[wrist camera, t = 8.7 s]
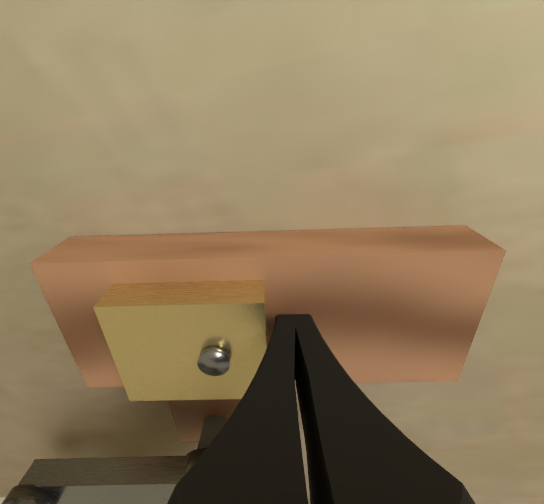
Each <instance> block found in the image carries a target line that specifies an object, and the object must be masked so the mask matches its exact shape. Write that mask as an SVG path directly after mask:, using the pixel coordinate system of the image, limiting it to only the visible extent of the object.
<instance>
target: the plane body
mask: <svg viewBox="0 0 544 504" xmlns="http://www.w3.org/2000/svg"><path fill="white" fill-rule="evenodd" d="M505 252H506V250H504V249H503V248H501V247H499V246H498V245H496V244H495V243H493V242H491V241H490V240H488V239H487V238H485V237H483V236H482V235H480V234H479V233H477V232H475V231H474V230H472V229H471V228H469V227H467V226H437V227H402V228H367V229H332V230H297V231H262V232H228V233H193V234H158V235H123V236H88V237H69V238H68V239H66V240H65V241H63V242H62V243H60V244H59V245H57V246H56V247H54V248H52V249H51V250H49V251H48V252H46V253H45V254H43V255H42V256H40V257H39V258H37V259H35V260H34V261H32V262H31V263H29V264H30V266H31V268H32V271H33V273H34V275H35V277H36V279H37V281H38V283H39V285H40V287H41V290H42V292H43V294H44V296H45V298H46V300H47V302H48V304H49V307H50V309H51V311H52V313H53V315H54V317H55V319H56V321H57V323H58V326H59V328H60V330H61V332H62V334H63V336H64V338H65V340H66V343H67V345H68V347H69V349H70V351H71V353H72V355H73V357H74V359H75V362H76V364H77V366H78V368H79V370H80V372H81V374H82V376H83V379H84V381H85V383H86V385H87V387H88V388H101V387H124V385H123V383H122V380H121V378H120V375H119V373H118V370H117V367H116V365H115V362H114V360H113V357H112V355H111V352H110V349H109V347H108V344H107V342H106V339H105V336H104V334H103V331H102V329H101V326H100V324H99V321H98V318H97V316H96V313H95V311H94V308H93V307H94V306H95V304H96V303H97V302H98V301H99V300H100V299H101V298H102V297H103V295H104V294H105V293H106V292H107V291H108V290H109V289H110V288H111V286H112V285H113V284H117V283H155V282H194V281H233V280H265V284H266V304H267V323H268V343H269V341H270V338H271V335H272V331H273V328H274V323H275V317H276V316H277V315H278V314H310V315H311V316H312V318H313V320H314V322H315V324H316V326H317V328H318V330H319V332H320V333H321V335H322V337H323V339H324V340H325V342H326V344H327V345H328V347H329V348H330V350H331V351H332V353H333V354H334V356H335V357H336V359H337V360H338V362H339V363H340V364H341V366H342V367H343V368H344V370H345V371H346V372H347V374H348V375H349V376H350V378H351V379H352V380H353V381H354V383H361V382H413V381H458V378H459V375H460V373H461V370H462V367H463V365H464V362H465V359H466V357H467V354H468V351H469V349H470V346H471V343H472V341H473V338H474V335H475V333H476V330H477V327H478V325H479V322H480V319H481V316H482V314H483V311H484V308H485V306H486V303H487V300H488V298H489V295H490V292H491V290H492V287H493V284H494V282H495V279H496V276H497V274H498V271H499V268H500V266H501V263H502V260H503V258H504V255H505ZM295 384H296V381H295ZM240 400H241V399H215V400H169V403H170V407H171V410H172V413H173V417H174V420H175V424H176V427H177V430H178V434H179V437H180V441H181V442H199V444H198V449H201V448H208V446H209V445H210V444H211V442H212V441H213V440H214V438H215V437H216V436H217V434H218V433H219V432H220V430H221V429H222V428H223V426H224V425H225V423H226V422H227V421H228V419H229V418H230V416H231V415H232V413H233V412H234V410H235V408H236V407H237V405H238V404H239V402H240Z"/></svg>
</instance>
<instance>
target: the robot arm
mask: <svg viewBox="0 0 544 504" xmlns="http://www.w3.org/2000/svg"><path fill="white" fill-rule="evenodd" d="M295 381H296V388H297V394H298V400H299V406H300V412H301V418H302V424H303V430H304V436H305V444H306V452H307V464H308V476H309V489H310V501H311V504H475V502H474V501H473V499H472V498H471V496H470V495H469V493H468V491H467V490H466V488H465V487H464V485H463V483H461V482H460V481H459V480H458V479H456V478H455V477H454V476H453V475H451V474H450V473H449V472H448V471H446V470H445V469H444V468H443V467H441V466H440V465H439V464H437V463H436V462H435V461H434V460H433V459H431V458H430V457H429V456H428V455H427V454H425V453H424V452H423V451H422V450H421V449H420V448H419V447H417V446H416V445H415V444H414V443H413V442H412V441H411V440H410V439H408V438H407V437H406V436H405V435H404V434H403V433H402V432H401V431H400V430H399V429H398V428H397V427H396V426H395V425H394V424H393V423H392V422H391V421H390V420H389V419H388V418H387V417H385V416H384V415H383V414H382V413H381V412H380V411H379V410H378V408H377V407H376V406H375V405H374V404H373V403H372V402H371V401H370V400H369V399H368V398H367V397H366V395H365V394H364V393H363V392H362V391H361V390H360V389H359V387H358V386H357V385H356V384H355V383H354V381H353V380H352V379H351V378H350V376H349V375H348V374H347V372H346V371H345V370H344V368H343V367H342V366H341V364H340V363H339V362H338V360H337V359H336V357H335V356H334V354H333V353H332V351H331V350H330V348H329V347H328V345H327V344H326V342H325V340H324V339H323V337H322V335H321V333H320V332H319V330H318V328H317V326H316V324H315V322H314V320H313V318H312V316H311V315H310V314H278V315H277V316H276V317H275V323H274V328H273V331H272V335H271V338H270V341H269V343H268V346H267V349H266V351H265V354H264V356H263V359H262V361H261V363H260V365H259V367H258V369H257V371H256V374H255V376H254V377H253V379H252V381H251V383H250V385H249V387H248V389H247V390H246V392H245V394H244V396H243V397H242V399H241V400H240V402H239V404H238V405H237V407H236V408H235V410H234V412H233V413H232V415H231V416H230V418H229V419H228V421H227V422H226V423H225V425H224V426H223V428H222V429H221V430H220V432H219V433H218V434H217V436H216V437H215V438H214V440H213V441H212V442H211V444H210V445H209V446H208V448H207V449H206V450H205V451H204V453H203V454H202V455H201V456H200V457H199V459H198V460H197V461H196V462H195V463H194V464H193V466H192V467H191V468H190V469H189V470H188V472H187V473H186V474H185V475H184V476H183V477H182V479H181V480H180V481H179V482H178V483H177V484H176V486H175V488H174V490H173V492H172V494H171V496H170V498H169V501H168V503H167V504H308V499H307V491H306V483H305V474H304V466H303V458H302V449H301V440H300V431H299V422H298V412H297V402H296V392H295Z"/></svg>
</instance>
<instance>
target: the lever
mask: <svg viewBox="0 0 544 504" xmlns="http://www.w3.org/2000/svg"><path fill="white" fill-rule="evenodd" d="M206 449H207V448H201V449H196V450H193V451H191V452H189V453H188V454H187V455H186V456H158V457H115V458H71V459H35V460H34V462H33V463H32V465H31V466H30V468H29V469H28V471H27V472H26V474H25V475H24V477H23V478H22V480H21V481H20V483H19V484H18V486H15V487H13V488H12V490H11V491H10V492H9V494H8V495H7V497H6V498H5V500H4V501H3V503H2V504H167V503H168V501H169V498H170V496H171V494H172V492H173V490H174V488H175V486H176V484H177V483H178V482H179V481H180V480H181V479H182V477H183V476H184V475H185V474H186V473H187V472H188V470H189V469H190V468H191V467H192V466H193V464H194V463H195V462H196V461H197V460H198V459H199V457H200V456H201V455H202V454H203V453H204V451H205V450H206Z"/></svg>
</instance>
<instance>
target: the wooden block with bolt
mask: <svg viewBox="0 0 544 504" xmlns="http://www.w3.org/2000/svg"><path fill="white" fill-rule="evenodd" d="M93 308H94V311H95V313H96V316H97V318H98V321H99V324H100V326H101V329H102V331H103V334H104V336H105V339H106V342H107V344H108V347H109V349H110V352H111V355H112V357H113V360H114V362H115V365H116V367H117V370H118V373H119V375H120V378H121V380H122V383H123V385H124V388H125V391H126V393H127V396H128V398H129V401H161V400H215V399H242V397H243V396H244V394H245V392H246V390H247V389H248V387H249V385H250V383H251V381H252V379H253V377H254V376H255V374H256V371H257V369H258V367H259V365H260V363H261V361H262V359H263V356H264V354H265V351H266V349H267V346H268V323H267V304H266V284H265V280H233V281H194V282H155V283H117V284H113V285H112V286H111V288H110V289H109V290H108V291H107V292H106V293H105V294H104V295H103V297H102V298H101V299H100V300H99V301H98V302H97V303H96V304H95V306H94V307H93Z"/></svg>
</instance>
